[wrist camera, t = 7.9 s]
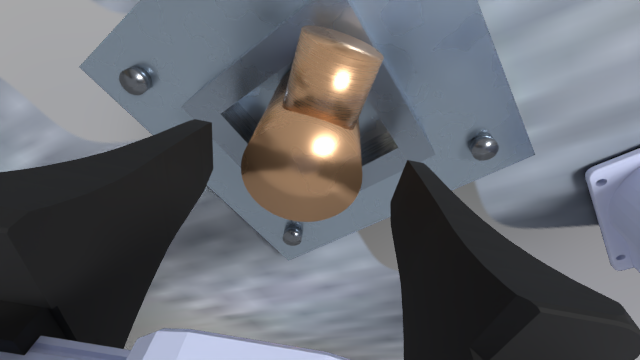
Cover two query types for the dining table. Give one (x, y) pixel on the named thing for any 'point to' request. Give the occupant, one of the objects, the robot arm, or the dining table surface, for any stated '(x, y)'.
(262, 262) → the dining table surface
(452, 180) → the flange plate
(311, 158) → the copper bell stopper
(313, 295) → the dining table surface
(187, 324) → the dining table surface
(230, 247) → the dining table surface
